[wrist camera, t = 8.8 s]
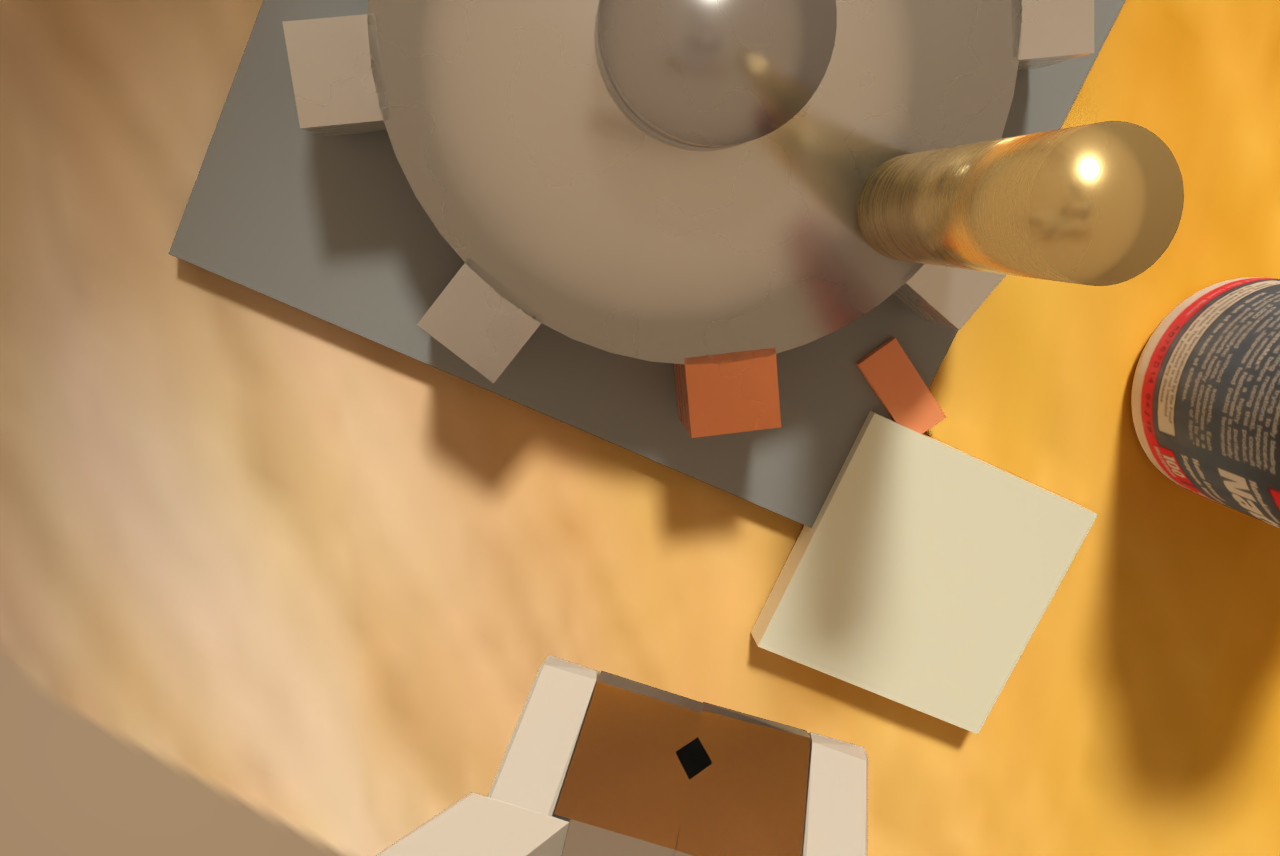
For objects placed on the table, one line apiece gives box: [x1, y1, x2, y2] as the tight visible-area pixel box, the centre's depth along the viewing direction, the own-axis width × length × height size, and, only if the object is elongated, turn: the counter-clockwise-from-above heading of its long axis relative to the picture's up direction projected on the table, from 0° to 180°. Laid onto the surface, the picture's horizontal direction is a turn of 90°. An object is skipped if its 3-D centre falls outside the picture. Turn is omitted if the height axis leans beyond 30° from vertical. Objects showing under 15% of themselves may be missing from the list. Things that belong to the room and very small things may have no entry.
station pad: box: [751, 411, 1098, 734], centre depth 24 cm, size 6×6×1 cm
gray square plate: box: [169, 0, 1125, 528], centre depth 21 cm, size 16×17×1 cm
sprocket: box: [282, 0, 1184, 438], centre depth 16 cm, size 15×15×9 cm
